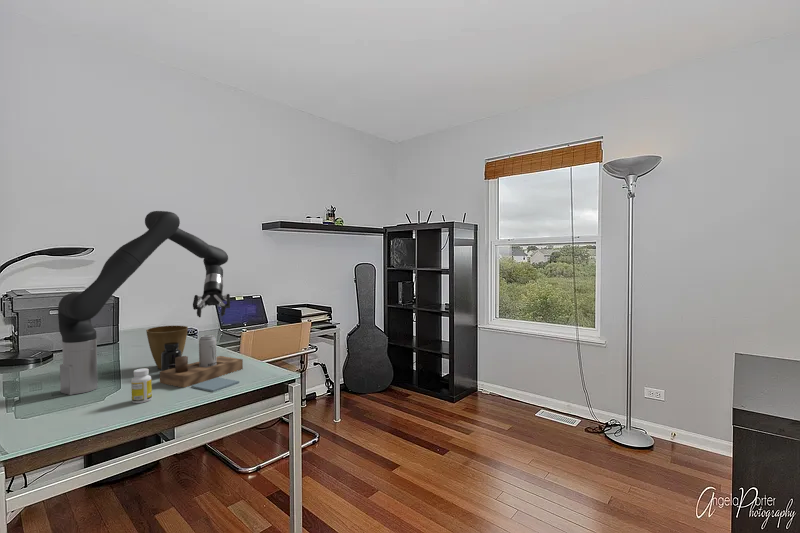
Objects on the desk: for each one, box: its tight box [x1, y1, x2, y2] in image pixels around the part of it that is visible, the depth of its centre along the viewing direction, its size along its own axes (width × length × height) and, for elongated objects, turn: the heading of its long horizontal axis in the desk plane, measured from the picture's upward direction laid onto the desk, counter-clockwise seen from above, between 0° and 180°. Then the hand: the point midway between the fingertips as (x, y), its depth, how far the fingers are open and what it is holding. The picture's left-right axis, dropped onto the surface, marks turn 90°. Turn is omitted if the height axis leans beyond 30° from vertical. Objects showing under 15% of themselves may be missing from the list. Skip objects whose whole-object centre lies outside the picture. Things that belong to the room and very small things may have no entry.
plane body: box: [159, 355, 244, 389], centre depth 156 cm, size 26×13×9 cm, turn 154°
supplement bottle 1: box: [130, 367, 153, 404], centre depth 129 cm, size 5×5×10 cm
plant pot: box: [146, 325, 189, 370], centre depth 168 cm, size 15×15×16 cm
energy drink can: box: [198, 334, 217, 368], centre depth 158 cm, size 6×6×15 cm
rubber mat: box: [191, 377, 240, 393], centre depth 144 cm, size 11×11×1 cm
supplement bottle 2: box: [160, 342, 181, 372], centre depth 158 cm, size 7×7×12 cm
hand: (210, 315), depth 168 cm, fingers open, 8 cm apart
